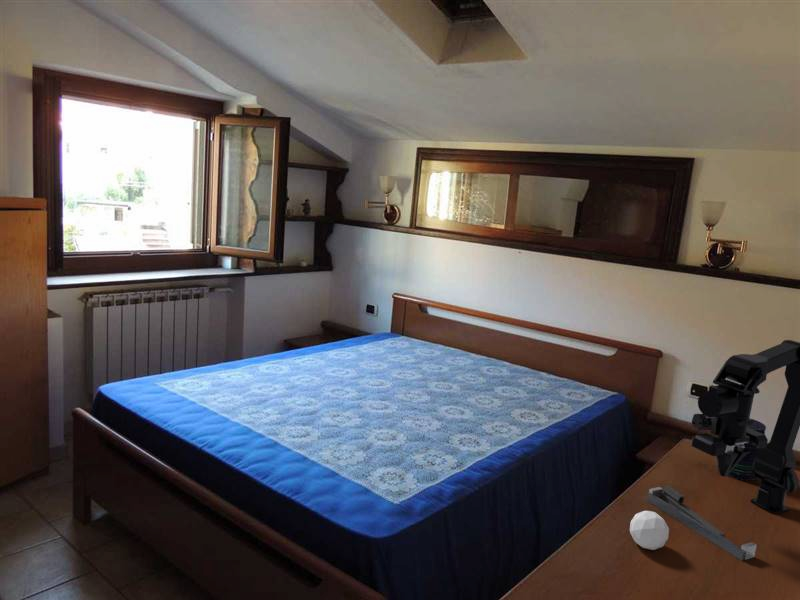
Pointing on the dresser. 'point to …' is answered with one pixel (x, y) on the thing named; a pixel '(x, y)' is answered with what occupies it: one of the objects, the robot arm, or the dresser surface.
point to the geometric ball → (649, 530)
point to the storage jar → (747, 456)
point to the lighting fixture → (685, 507)
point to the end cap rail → (700, 527)
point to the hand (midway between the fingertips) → (723, 475)
